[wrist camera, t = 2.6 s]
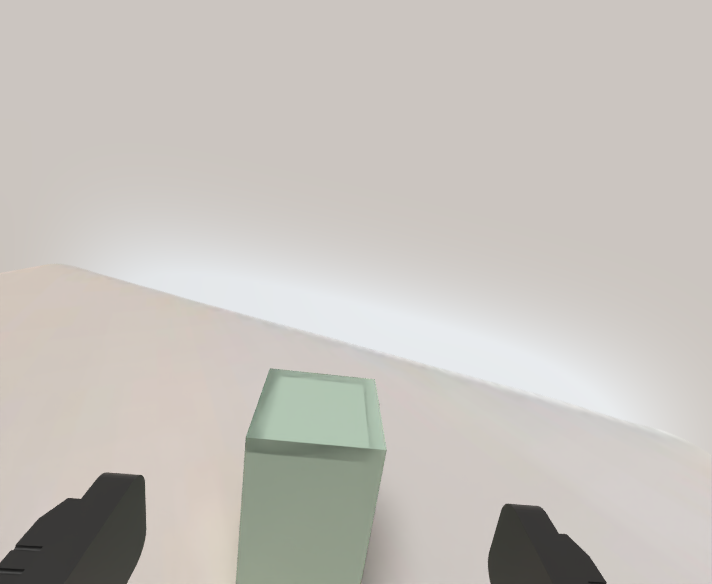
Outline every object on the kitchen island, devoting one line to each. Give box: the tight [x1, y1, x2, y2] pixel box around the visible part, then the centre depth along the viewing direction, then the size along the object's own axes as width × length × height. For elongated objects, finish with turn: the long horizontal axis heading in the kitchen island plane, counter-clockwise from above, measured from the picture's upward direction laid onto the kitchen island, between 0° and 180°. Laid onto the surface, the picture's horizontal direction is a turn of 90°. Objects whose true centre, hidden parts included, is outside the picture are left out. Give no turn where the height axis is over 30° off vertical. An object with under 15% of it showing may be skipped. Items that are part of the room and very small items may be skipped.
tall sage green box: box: [236, 369, 387, 584], centre depth 23 cm, size 6×6×11 cm
